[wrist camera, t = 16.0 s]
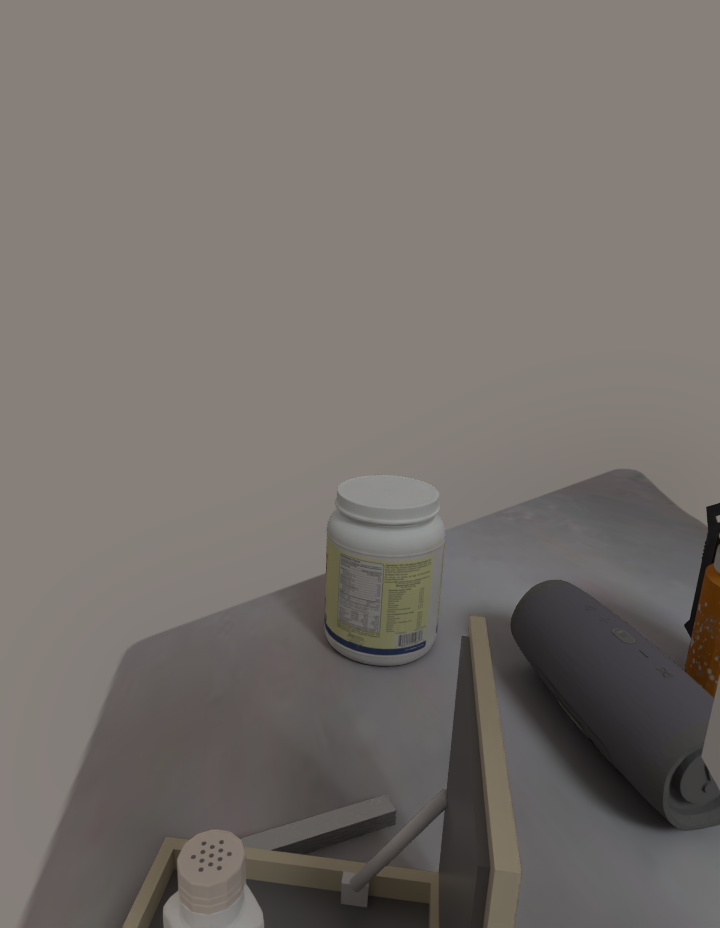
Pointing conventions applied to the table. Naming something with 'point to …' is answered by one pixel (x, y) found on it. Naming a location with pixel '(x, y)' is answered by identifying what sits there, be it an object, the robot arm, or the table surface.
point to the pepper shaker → (212, 885)
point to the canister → (706, 612)
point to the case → (399, 843)
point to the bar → (326, 828)
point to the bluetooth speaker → (623, 698)
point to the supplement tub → (384, 569)
